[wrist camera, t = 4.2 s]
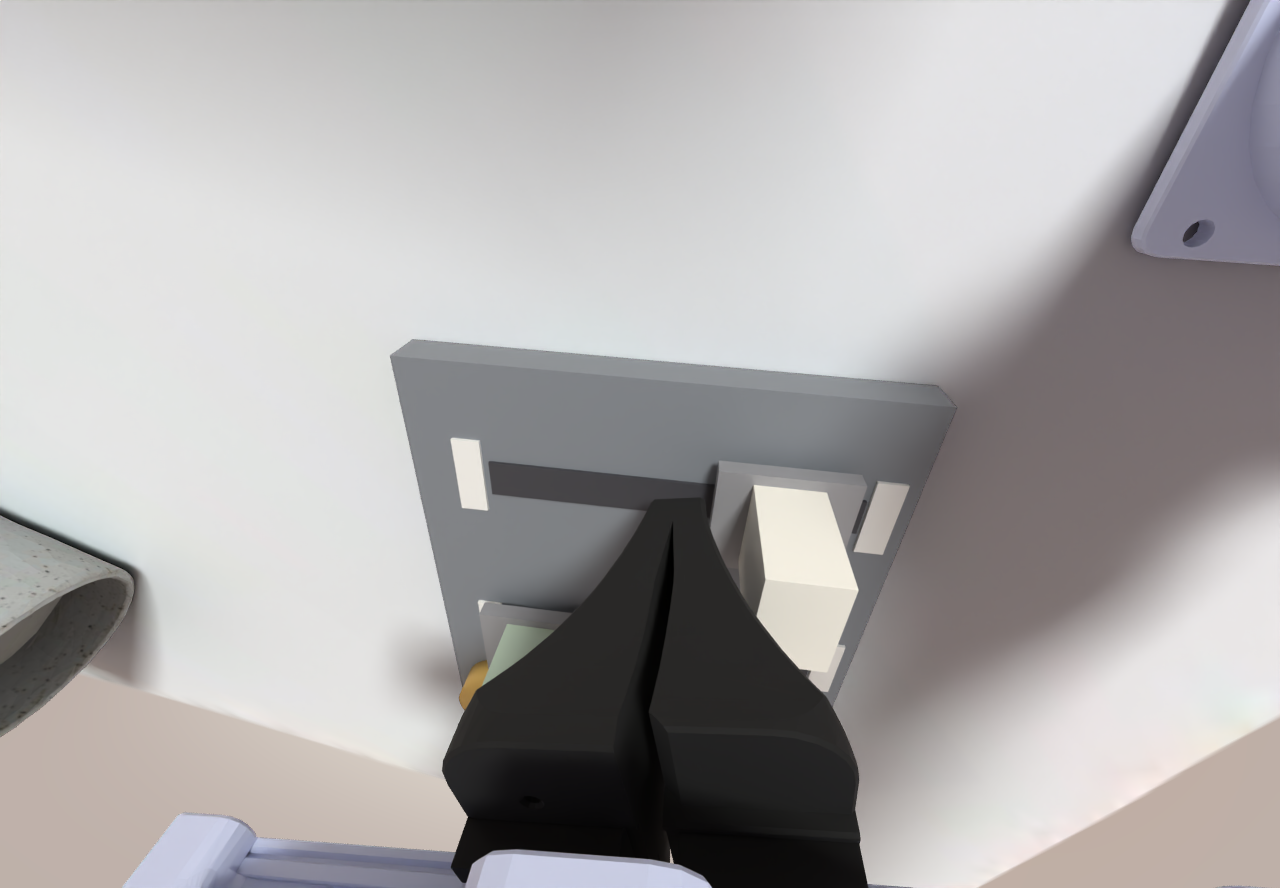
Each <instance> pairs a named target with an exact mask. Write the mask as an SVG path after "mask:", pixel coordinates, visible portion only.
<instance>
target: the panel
mask: <svg viewBox="0 0 1280 888" xmlns="http://www.w3.org/2000/svg"><path fill="white" fill-rule="evenodd" d="M390 358H391V363H392V367H393V372H394V376H395V381H396V386H397V390H398V395H399V399H400V404H401V408H402V413H403V418H404V422H405V427H406V431H407V436H408V440H409V445H410V450H411V454H412V459H413V463H414V468H415V472H416V477H417V481H418V486H419V491H420V495H421V500H422V504H423V509H424V513H425V518H426V523H427V527H428V532H429V536H430V541H431V545H432V550H433V554H434V559H435V564H436V568H437V573H438V577H439V582H440V586H441V591H442V596H443V600H444V605H445V609H446V614H447V618H448V623H449V627H450V632H451V637H452V641H453V646H454V650H455V655H456V659H457V664H458V669H459V673H460V678H461V682H462V687H463V688H462V691H461V693H460V696H459V701H460V704H461V706H462V707H463V709H464V710H465V709H466V708H467V706H468V704H469V702H470V701H471V699H472V697H473V695H474V693H475V691H476V690H477V689H478V688H480V687H481V686H482V684H483V682H484V679H485V677H486V674H487V672H488V670H489V669H488V663H487V657H486V652H485V646H484V640H483V634H482V628H481V622H480V616H479V614H480V611H481V609H482V607H483V605H484V603H485V602H487V603H495V604H503V605H511V606H519V607H527V608H535V609H543V610H551V611H559V612H567V613H573V612H574V611H575V610H576V609H577V608H578V607H579V606H580V605H581V604H582V603H583V602H584V600H585V599H586V598H587V597H588V596H589V595H590V594H591V593H592V591H593V590H594V589H595V588H596V587H597V585H598V584H599V583H600V582H601V580H602V579H603V578H604V577H605V575H606V574H607V573H608V571H609V570H610V568H611V567H612V566H613V564H614V563H615V562H616V560H617V559H618V558H619V556H620V555H621V553H622V552H623V550H624V549H625V547H626V545H627V544H628V542H629V541H630V539H631V538H632V536H633V535H634V533H635V531H636V530H637V528H638V526H639V524H640V523H641V521H642V519H643V517H644V515H645V514H646V512H647V510H648V508H649V506H650V504H651V502H652V501H653V500H654V499H673V498H695V497H701V498H702V499H703V500H705V504H706V515H707V519H708V523H709V521H710V515H711V508H712V501H713V495H714V488H715V482H716V475H717V469H718V462H719V460H720V461H730V462H740V463H750V464H760V465H770V466H779V467H789V468H799V469H809V470H819V471H829V472H839V473H848V474H858V475H863V478H864V480H865V482H866V484H867V489H866V492H865V495H864V498H863V501H862V504H861V507H860V510H859V513H858V515H857V518H856V521H855V524H854V527H853V530H852V533H851V536H850V539H849V541H848V544H847V547H846V553H847V556H848V559H849V562H850V565H851V568H852V571H853V574H854V577H855V581H856V584H857V587H858V590H859V591H858V593H857V596H856V599H855V601H854V604H853V606H852V609H851V612H850V614H849V617H848V619H847V622H846V625H845V627H844V630H843V632H842V635H841V638H840V640H839V643H838V645H837V648H836V651H835V653H834V656H833V658H832V661H831V664H830V666H829V669H828V671H827V672H819V671H811V670H803V669H800V670H801V671H802V672H803V673H804V674H805V675H806V677H807V678H808V679H809V680H810V681H811V682H812V683H813V684H814V685H815V686H816V687H817V688H818V689H819V690H820V691H821V692H822V693H823V694H824V695H825V696H826V697H827V698H828V700H829V702H830V704H831V706H832V707H833V704H834V702H835V699H836V697H837V695H838V692H839V690H840V687H841V685H842V683H843V680H844V678H845V675H846V673H847V671H848V668H849V666H850V663H851V661H852V659H853V656H854V654H855V651H856V649H857V647H858V644H859V642H860V639H861V637H862V635H863V632H864V630H865V627H866V625H867V623H868V620H869V618H870V615H871V613H872V611H873V608H874V606H875V603H876V601H877V599H878V596H879V594H880V591H881V589H882V587H883V584H884V582H885V579H886V577H887V575H888V572H889V570H890V567H891V565H892V563H893V560H894V558H895V555H896V553H897V551H898V548H899V546H900V543H901V541H902V539H903V536H904V534H905V531H906V529H907V527H908V524H909V522H910V519H911V517H912V515H913V512H914V510H915V507H916V505H917V503H918V500H919V498H920V495H921V493H922V491H923V488H924V486H925V483H926V481H927V479H928V476H929V474H930V471H931V469H932V467H933V464H934V462H935V459H936V457H937V455H938V452H939V450H940V447H941V445H942V443H943V440H944V438H945V435H946V433H947V431H948V428H949V426H950V423H951V421H952V419H953V416H954V414H955V411H956V409H957V407H956V406H955V404H954V403H953V402H952V401H951V400H950V399H949V398H948V397H947V395H946V394H945V393H944V392H943V391H942V390H941V389H940V388H939V386H933V385H922V384H910V383H899V382H888V381H877V380H865V379H854V378H843V377H831V376H820V375H809V374H798V373H786V372H775V371H764V370H752V369H741V368H730V367H719V366H707V365H696V364H685V363H674V362H662V361H651V360H640V359H628V358H617V357H606V356H595V355H583V354H572V353H561V352H549V351H538V350H527V349H516V348H504V347H493V346H482V345H470V344H459V343H448V342H437V341H425V340H414V339H413V340H411V341H410V342H408V343H407V344H406V345H404V346H403V347H401V348H400V349H399V350H397V351H396V352H394V353H393V354H392V355H390ZM727 569H728V570H729V572H730V574H731V576H732V578H733V580H734V582H735V583H736V585H737V587H738V589H739V590H740V577H739V569H735V568H727Z"/></svg>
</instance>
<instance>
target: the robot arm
mask: <svg viewBox="0 0 1280 888" xmlns="http://www.w3.org/2000/svg"><path fill="white" fill-rule="evenodd" d="M1196 222H1199V227H1198V230H1197V232H1196V233H1195V235H1194V236H1193V237H1192V238H1191V239H1189V240H1187V241H1186V242H1184V243H1183V236H1184V233H1185V232H1186V230H1187V229H1188V228H1189V227H1190V226H1191V225H1193V224H1194V223H1196ZM1131 241H1132V246H1133V247H1134V248H1135V250H1136V251H1137V252H1140V253H1144V254H1147V255H1150V256H1154V257H1160V258H1175V259H1189V260H1203V261H1218V262H1232V263H1246V264H1261V265H1275V266H1280V0H1250V2H1249V4H1248V6H1247V8H1246V10H1245V12H1244V14H1243V16H1242V18H1241V20H1240V22H1239V24H1238V26H1237V28H1236V30H1235V32H1234V34H1233V35H1232V37H1231V39H1230V41H1229V43H1228V45H1227V47H1226V49H1225V51H1224V53H1223V55H1222V57H1221V59H1220V61H1219V63H1218V65H1217V67H1216V69H1215V71H1214V72H1213V74H1212V76H1211V78H1210V80H1209V82H1208V84H1207V86H1206V88H1205V90H1204V92H1203V94H1202V96H1201V98H1200V100H1199V102H1198V104H1197V106H1196V108H1195V110H1194V111H1193V113H1192V115H1191V117H1190V119H1189V121H1188V123H1187V125H1186V127H1185V129H1184V131H1183V133H1182V135H1181V137H1180V139H1179V141H1178V143H1177V145H1176V147H1175V148H1174V150H1173V152H1172V154H1171V156H1170V158H1169V160H1168V162H1167V164H1166V166H1165V168H1164V170H1163V172H1162V174H1161V176H1160V178H1159V180H1158V182H1157V184H1156V185H1155V187H1154V189H1153V191H1152V193H1151V195H1150V197H1149V199H1148V201H1147V203H1146V205H1145V207H1144V209H1143V211H1142V213H1141V215H1140V217H1139V219H1138V221H1137V223H1136V224H1135V226H1134V229H1133V232H1132V235H1131ZM442 772H443V774H444V777H445V779H446V781H447V784H448V786H449V787H450V789H451V791H452V792H453V794H454V795H455V797H456V799H457V800H458V802H459V803H460V805H461V807H462V808H463V810H464V811H465V813H466V814H467V816H468V818H467V821H466V824H465V827H464V830H463V833H462V836H461V839H460V841H459V844H458V847H457V850H456V852H444V851H430V850H417V849H405V848H391V847H379V846H366V845H353V844H339V843H327V842H314V841H301V840H289V839H276V838H262V837H256V833H255V832H254V831H253V830H252V828H251V827H249V826H248V825H247V824H246V823H244V822H243V821H241V820H239V819H237V818H234V817H231V816H226V815H216V814H202V813H187V812H184V813H181V814H178V815H177V817H176V818H175V819H174V821H173V822H172V823H171V824H170V826H169V827H168V828H167V830H166V831H165V832H164V833H163V835H162V836H161V838H160V839H159V840H158V841H157V843H156V844H155V845H154V846H153V848H152V849H151V850H150V852H149V853H148V854H147V855H146V857H145V858H144V859H143V861H142V862H141V863H140V865H139V866H138V867H137V868H136V870H135V871H134V872H133V874H132V875H131V876H130V877H129V879H128V880H127V881H126V883H125V884H124V885H123V886H122V888H911V887H898V886H885V885H872V884H867V879H866V874H865V870H864V865H863V860H862V855H861V850H860V846H859V843H860V832H859V827H858V822H857V818H856V813H855V806H856V799H857V791H858V784H859V773H858V767H857V763H856V760H855V757H854V754H853V751H852V748H851V746H850V743H849V741H848V738H847V736H846V734H845V732H844V729H843V727H842V725H841V723H840V721H839V719H838V717H837V715H836V713H835V712H834V710H833V708H832V706H831V704H830V702H829V700H828V698H827V697H826V696H825V695H824V694H823V693H822V692H821V691H820V690H819V689H818V688H817V687H816V686H815V685H814V684H813V683H812V682H811V681H810V680H809V679H808V678H807V677H806V675H805V674H804V673H803V672H802V671H801V670H800V669H799V668H798V667H797V666H796V665H795V664H794V662H793V661H792V660H791V659H790V658H789V657H788V656H787V655H786V653H785V652H784V651H783V650H782V649H781V648H780V646H779V645H778V644H777V642H776V641H775V640H774V639H773V637H772V636H771V635H770V634H769V632H768V631H767V630H766V628H765V627H764V626H763V625H762V623H761V622H760V621H759V619H758V618H757V616H756V615H755V613H754V612H753V611H752V609H751V608H750V606H749V605H748V603H747V601H746V600H745V598H744V597H743V595H742V594H741V592H740V590H739V589H738V587H737V585H736V583H735V582H734V580H733V578H732V576H731V574H730V572H729V570H728V569H727V567H726V565H725V563H724V561H723V558H722V556H721V554H720V552H719V549H718V547H717V545H716V542H715V540H714V537H713V535H712V532H711V529H710V526H709V523H708V519H707V515H706V504H705V500H703V499H702V498H701V497H695V498H673V499H654V500H653V501H652V502H651V504H650V506H649V508H648V510H647V512H646V514H645V515H644V517H643V519H642V521H641V523H640V524H639V526H638V528H637V530H636V531H635V533H634V535H633V536H632V538H631V539H630V541H629V542H628V544H627V545H626V547H625V549H624V550H623V552H622V553H621V555H620V556H619V558H618V559H617V560H616V562H615V563H614V564H613V566H612V567H611V568H610V570H609V571H608V573H607V574H606V575H605V577H604V578H603V579H602V580H601V582H600V583H599V584H598V585H597V587H596V588H595V589H594V590H593V591H592V593H591V594H590V595H589V596H588V597H587V598H586V599H585V600H584V602H583V603H582V604H581V605H580V606H579V607H578V608H577V609H576V610H575V611H574V612H573V613H572V614H571V615H570V616H569V617H568V618H567V619H566V620H565V621H564V622H563V623H562V624H561V625H560V626H559V627H558V628H557V629H556V630H555V631H554V632H553V633H551V634H550V635H549V636H548V637H547V638H546V639H544V640H543V641H542V642H541V643H540V644H538V645H537V646H536V647H535V648H534V649H533V650H531V651H530V652H529V653H528V654H526V655H525V656H524V657H523V658H521V659H520V660H519V661H517V662H516V663H515V664H513V665H512V666H510V667H509V668H508V669H506V670H505V671H503V672H502V673H500V674H499V675H497V676H496V677H495V678H493V679H492V680H490V681H489V682H487V683H486V684H484V685H483V686H481V687H480V688H478V689H477V690H476V691H475V693H474V695H473V697H472V699H471V701H470V702H469V704H468V706H467V708H466V709H465V711H464V714H463V716H462V718H461V720H460V722H459V724H458V727H457V729H456V731H455V734H454V736H453V739H452V741H451V743H450V746H449V748H448V750H447V753H446V755H445V758H444V760H443V767H442ZM670 849H671V854H672V858H673V862H674V864H672V863H670ZM1217 888H1263V887H1250V886H1222V887H1217Z"/></svg>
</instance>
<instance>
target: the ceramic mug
mask: <svg viewBox="0 0 1280 888" xmlns="http://www.w3.org/2000/svg"><path fill="white" fill-rule="evenodd" d="M133 594H134V580H133V578H132V577H131V576H130V574H129V573H128V572H126V571H125V570H123V569H121V568H119V567H116V566H114V565H112V564H110V563H107V562H105V561H103V560H100V559H98V558H96V557H93V556H91V555H89V554H87V553H84V552H82V551H80V550H78V549H75V548H73V547H71V546H69V545H66V544H64V543H62V542H60V541H57V540H55V539H53V538H51V537H48V536H46V535H43V534H41V533H39V532H36V531H34V530H31V529H29V528H27V527H24V526H22V525H19V524H17V523H15V522H13V521H11V520H9V519H7V518H4V517H2V516H0V737H1V736H3V735H5V734H6V733H8V732H9V731H11V730H12V729H14V728H15V727H17V726H18V725H19V724H20V723H22V722H23V721H24V720H25V719H26V718H28V717H29V716H31V715H32V714H34V713H35V712H36V711H38V710H39V709H40V708H41V707H43V706H44V705H45V704H46V703H47V702H48V701H50V699H52V698H53V697H54V696H55V695H56V694H57V693H58V692H59V691H61V690H62V689H63V688H64V687H65V686H66V685H67V684H68V683H69V682H70V681H71V680H72V679H73V678H74V677H75V676H76V675H77V674H78V673H79V672H80V671H81V670H82V669H83V668H85V667H86V666H87V664H88V663H89V662H90V661H91V660H92V659H93V658H94V657H95V655H96V654H97V653H98V652H99V651H100V649H101V648H102V647H103V646H104V645H105V644H106V643H107V641H108V640H109V639H110V637H111V636H112V634H113V633H114V632H115V630H116V629H117V628H118V626H119V625H120V624H121V622H122V620H123V619H124V617H125V615H126V613H127V611H128V609H129V606H130V604H131V601H132V598H133Z"/></svg>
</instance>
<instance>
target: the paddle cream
mask: <svg viewBox="0 0 1280 888" xmlns="http://www.w3.org/2000/svg"><path fill="white" fill-rule="evenodd" d="M866 489H867V484H866V482H865V480H864V478H863V475H858V474H848V473H839V472H829V471H819V470H809V469H799V468H789V467H779V466H770V465H760V464H750V463H740V462H730V461H720V460H719V462H718V469H717V475H716V482H715V488H714V495H713V501H712V508H711V515H710V521H709V526H710V529H711V532H712V535H713V537H714V540H715V542H716V545H717V547H718V549H719V552H720V554H721V556H722V558H723V561H724V563H725V565H726V567H727V568H735V569H739V577H740V592H741V594H742V595H743V597H744V598H745V600H746V601H747V603H748V605H749V606H750V608H751V609H752V611H753V612H754V613H755V615H756V616H757V618H758V619H759V621H760V622H761V623H762V625H763V626H764V627H765V628H766V630H767V631H768V632H769V634H770V635H771V636H772V637H773V639H774V640H775V641H776V642H777V644H778V645H779V646H780V648H781V649H782V650H783V651H784V652H785V653H786V655H787V656H788V657H789V658H790V659H791V660H792V661H793V662H794V664H795V665H796V666H797V667H798V668H799V669H803V670H811V671H819V672H827V671H828V669H829V666H830V664H831V661H832V658H833V656H834V653H835V651H836V648H837V645H838V643H839V640H840V638H841V635H842V632H843V630H844V627H845V625H846V622H847V619H848V617H849V614H850V612H851V609H852V606H853V604H854V601H855V599H856V596H857V593H858V591H859V590H858V587H857V584H856V581H855V577H854V574H853V571H852V568H851V565H850V562H849V559H848V556H847V553H846V547H847V544H848V541H849V539H850V536H851V533H852V530H853V527H854V524H855V521H856V518H857V515H858V513H859V510H860V507H861V504H862V501H863V498H864V495H865V492H866Z"/></svg>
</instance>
